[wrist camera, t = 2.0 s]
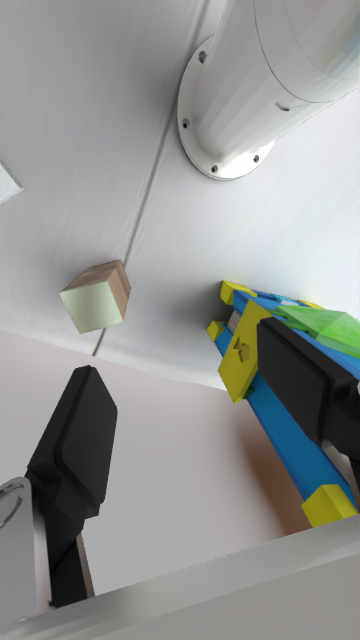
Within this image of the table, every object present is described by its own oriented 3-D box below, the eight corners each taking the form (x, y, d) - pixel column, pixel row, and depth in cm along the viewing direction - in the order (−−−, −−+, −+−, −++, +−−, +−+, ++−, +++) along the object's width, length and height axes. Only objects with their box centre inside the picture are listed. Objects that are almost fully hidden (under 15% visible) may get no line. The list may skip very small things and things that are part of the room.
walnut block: (120, 259, 29) (106, 281, 19) (130, 288, 31) (122, 322, 21) (90, 267, 29) (58, 293, 18) (102, 295, 31) (79, 334, 20)
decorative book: (222, 265, 32) (608, 484, 5) (331, 295, 38) (778, 473, 11) (195, 340, 37) (316, 633, 11) (294, 357, 43) (532, 574, 17)
